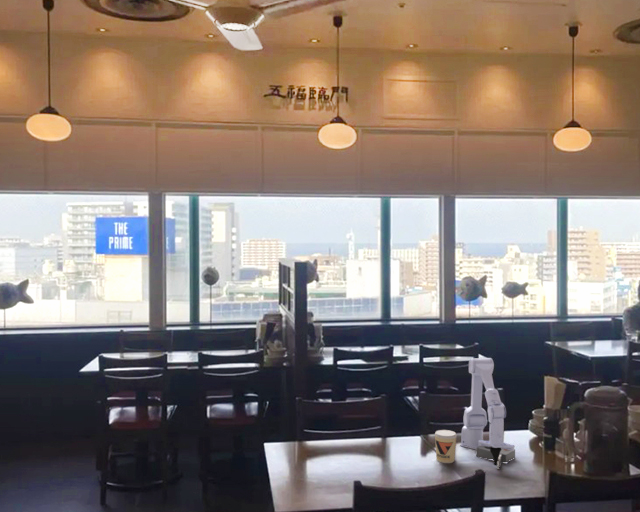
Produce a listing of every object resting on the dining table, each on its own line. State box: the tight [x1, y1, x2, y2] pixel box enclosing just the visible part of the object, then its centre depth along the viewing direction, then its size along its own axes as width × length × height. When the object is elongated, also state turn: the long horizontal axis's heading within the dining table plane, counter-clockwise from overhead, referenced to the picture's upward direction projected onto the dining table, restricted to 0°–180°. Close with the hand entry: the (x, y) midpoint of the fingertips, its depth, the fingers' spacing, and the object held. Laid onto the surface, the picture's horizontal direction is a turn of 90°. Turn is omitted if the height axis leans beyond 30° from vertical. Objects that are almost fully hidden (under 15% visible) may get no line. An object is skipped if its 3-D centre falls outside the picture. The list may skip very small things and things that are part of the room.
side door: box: [496, 454, 502, 470], centre depth 268 cm, size 9×1×4 cm, turn 157°
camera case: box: [475, 446, 516, 463], centre depth 280 cm, size 14×9×5 cm, turn 48°
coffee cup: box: [434, 429, 457, 464], centre depth 277 cm, size 9×9×12 cm
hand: (495, 464), depth 268 cm, fingers closed
